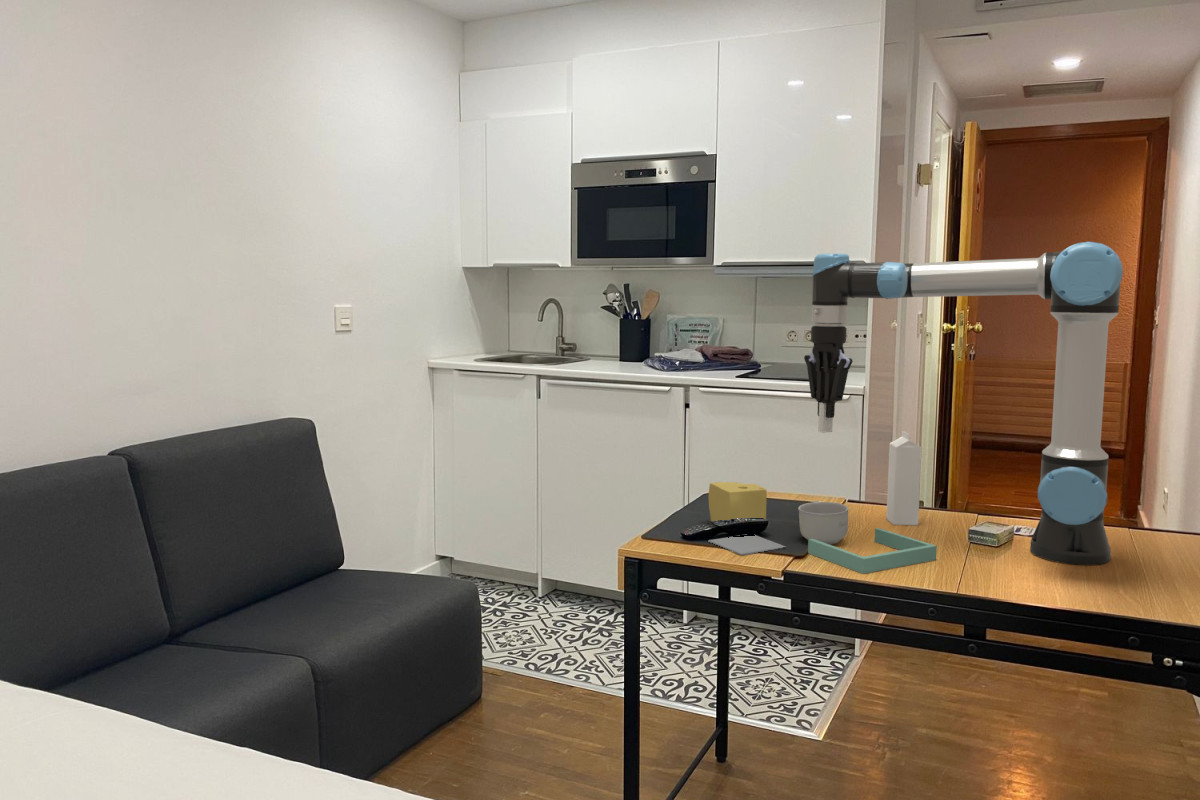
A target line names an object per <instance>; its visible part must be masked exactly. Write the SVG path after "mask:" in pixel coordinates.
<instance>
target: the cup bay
mask: <svg viewBox="0 0 1200 800" xmlns="http://www.w3.org/2000/svg"><path fill="white" fill-rule="evenodd" d="M807 542H808V543H807V554H809V555H812V556H814V557H817V558H820V559H823V560H825V561H828V562H831V563H833V564H836V565H838V566H842V567H844V568H846V569H850V570H852V571H855V572H857V573H860V574H863V575H864V574H868V573H869V574H870V573H873V572H881V571H884V570H885V571H886V570H890V569H895V568H896V569H897V568H900V567H907V566H910V565H916V564H922V563H926V562H927V563H928V562H933V561H936V560H937V553H938V552H937V551H938V549H937V548H938V546H937V545H935V544H933V543H929V542H925V541H922V540H920V539H915V538H913V537H909V536H907V535H903V534H900V533H897V532H893V531H890V530H887V529H883V528H880V527H878V528H877V527H876V528H874V543H876V544H880V545H884V546H887V547H889V548H892V549H896V550H895V551H894V550H893V551H888V552H883V553H877V554H872V555H866V556H863V555H861V554H860V555H859V554H857V553H855V552H851V551H849V550H846V549H843V548H840V547H837V546H835V545H833V544H831V545H829V544H826V543H823V542H821V541H818V540H815V539H808V540H807Z"/></svg>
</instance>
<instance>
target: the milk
mask: <svg viewBox="0 0 1200 800" xmlns="http://www.w3.org/2000/svg"><path fill="white" fill-rule="evenodd" d="M910 435H911V434H910V433H909V432H907V431H905V430H902V431H901V436H900V437H898V438H897V439H894V440H893V441H890V443H889V447H888V450H889V451H888V474H887V475H888V476H887V494H886V495H887V497H886V520H887V521H888V522H890V523H891V525H893V526H919V515H920V514H919V512H920V492H921V491H920V490H921V469H922V468H921V466H922V449H923V448H922V446H920V445H918V444H917V443H915V442H914V441H912V440H911V437H910Z"/></svg>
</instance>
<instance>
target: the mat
mask: <svg viewBox="0 0 1200 800" xmlns="http://www.w3.org/2000/svg"><path fill="white" fill-rule="evenodd" d="M754 535H755V536H744V537H733V536H728V537H729V538H728V537H722V538H715V539H709V540H708V542H707V543H709V542H710V544H712V543H713V544H712V545H714V544H715V545H714V546H716V545H718V546H717V547H719V546H720V547H719V548H721V547H723V548H722V549H724V548H725V549H724V550H726V549H728V550H730V551H729V552H731V551H733V552H735V553H734V554H736V553H737V554H736V555H738V554H739V556H740V555H743V556H748V555H747V554H749V555H754V553H755V554H759V553H758V552H762V553H765V552H764V551H768V550H774V549H778V548H783V547H786V548H787V546H785V545H782V544H780V543H778V542H775V541H772V540H769V539H767V538H765V537H761V536H759V535H756V534H754ZM728 550H727V551H728ZM774 551H775V550H774ZM733 552H732V553H733ZM768 552H769V551H768Z"/></svg>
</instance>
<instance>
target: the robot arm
mask: <svg viewBox="0 0 1200 800" xmlns="http://www.w3.org/2000/svg"><path fill="white" fill-rule="evenodd" d="M812 268H813V270H812V272H813V273H812V275H811V277H812V299H811V300H812V303H811V323H812V324H814V325H812V326H811V329H810V342H812V344H813V347H812V349H811V353H810V354H806V355H804V357H803V360H804V363H805V364H806V369H807V376H808V385H809V390H810V391H809V392H810V393H809V394H810V398H812V399H814V400H816V402H817V416H818V429H817V430H818V431H817V432H818V433H823V434H825V433H833V425H834V424H833V423H834V421H833V419H834V417H835V412H836V411H835V406H836V403H837V402H840V401H843V399H844V393H845V388H846V385H847V379H848V375H849V370H850V367H851V366H852V363H853V359H852V358H851V357H850V358H848V357H847V356H846V355H845V349H844V345H845V343H846V342H847V331H848V330H847V329H848V328H847V327H846V326H845V325H846V324H847V323H848V300H849V298H850V299H857V298H858V299H886V300H889V299H890V300H892V299H901V298H927V297H928V298H931V297H935V298H936V297H937V298H938V297H969V296H970V297H974V296H975V297H978V296H979V297H981V296H983V297H984V296H986V297H987V296H1024V295H1025V296H1027V295H1029V296H1030V295H1033V296H1034V295H1038V296H1039V297H1041V298H1042V299H1043V300H1050V311H1049V314H1050V315H1051V316H1052V317H1053V318H1054V319H1055V320H1056V321H1057V322H1058V325H1057V337H1056V338H1057V340H1056V341H1057V342H1056V355H1055V356H1056V357H1055V374H1054V375H1055V376H1054V386H1053V387H1054V388H1053V389H1054V391H1053V404H1052V405H1053V407H1052V408H1053V409H1052V420H1051V421H1052V423H1051V441H1050V443H1049V445H1047V446H1046V447H1045V448H1043V450H1042V451H1041V464H1040V465H1041V466H1040V477H1039V478H1040V479H1039V481H1040V482H1039V485H1038V487H1037V499H1038V501H1039V502H1038V503H1040V506H1041V516H1040V519H1039V521H1038V523H1037V525H1036V528H1035V530H1034V532H1033V535H1032V537H1031V539H1030V548H1029V551H1030V553H1032V554H1033V555H1034V556H1036V557H1039V558H1041V559H1045V560H1048V561H1052V562H1057V563H1062V564H1068V565H1069V564H1071V565H1078V566H1079V565H1081V566H1096V565H1103V564H1108V563H1109V562H1110V561H1111V553H1112V552H1111V546H1110V544H1109V540H1108V536H1107V533H1106V532H1107V531H1106V529H1105V524H1104V515H1105V513H1104V512H1105V508H1106V507H1107V503H1108V493H1107V486H1108V484H1107V483H1108V471H1109V458H1110V457H1109V454H1108V453H1107V452H1105V450H1104V448H1102V446H1101V444H1102V443H1101V442H1102V441H1101V440H1102V429H1103V425H1102V424H1103V411H1104V410H1103V409H1104V399H1105V398H1104V397H1105V396H1104V395H1105V381H1106V368H1107V367H1106V366H1107V354H1108V353H1107V351H1108V337H1109V336H1108V335H1109V323H1110V322H1111V321H1112V320H1113V319H1114V318H1115V317H1117V316H1118V315H1119V310H1120V309H1119V308H1120V296H1121V294H1120V293H1121V282H1122V279H1123V274H1124V272H1123V271H1124V269H1123V268H1124V267H1123V263H1122V261H1121V258H1120V257H1119V255H1118V254H1117V253H1116V252H1115V251H1114V250H1113V248H1111V247H1109V246H1108V245H1106V244H1104V243H1100V242H1096V241H1085V242H1077V243H1075V244H1072V245H1070V246H1068V247H1067V248H1065V249H1063V250H1062V251H1055V252H1044V253H1043V254H1042V255H1040V256H1039V257H1030V258H1026V257H1025V258H1005V259H1003V258H1002V259H1001V258H1000V259H982V260H959V261H934V262H914V263H908V262H907V263H903V262H894V261H884V262H883V261H882V262H851V260H850V256H849V255H848V253H819V254H816V255H815V257H814V259H813V267H812Z"/></svg>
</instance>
